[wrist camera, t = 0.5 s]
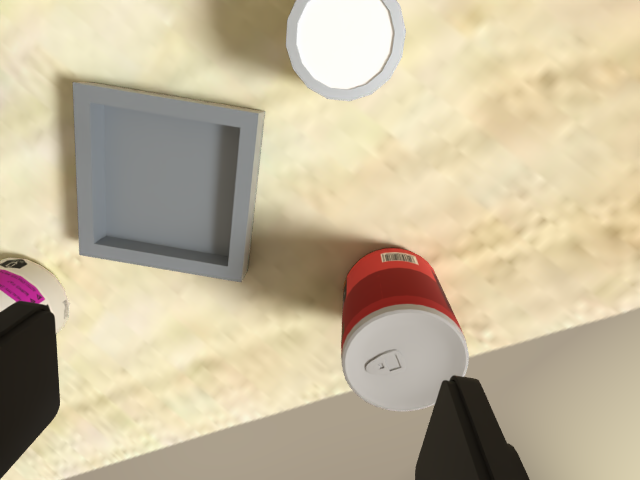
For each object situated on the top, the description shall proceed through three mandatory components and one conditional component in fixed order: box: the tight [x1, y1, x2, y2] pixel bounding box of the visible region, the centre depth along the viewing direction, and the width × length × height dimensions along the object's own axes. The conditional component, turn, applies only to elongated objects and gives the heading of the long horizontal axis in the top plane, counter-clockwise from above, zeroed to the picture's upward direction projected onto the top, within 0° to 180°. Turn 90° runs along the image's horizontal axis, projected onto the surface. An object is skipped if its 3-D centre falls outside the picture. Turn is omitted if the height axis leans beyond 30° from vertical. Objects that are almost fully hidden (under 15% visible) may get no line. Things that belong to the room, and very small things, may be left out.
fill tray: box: [73, 82, 265, 282], centre depth 34 cm, size 13×13×2 cm
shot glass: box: [286, 0, 406, 101], centre depth 28 cm, size 7×7×7 cm
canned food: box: [341, 248, 469, 411], centre depth 32 cm, size 8×8×11 cm
